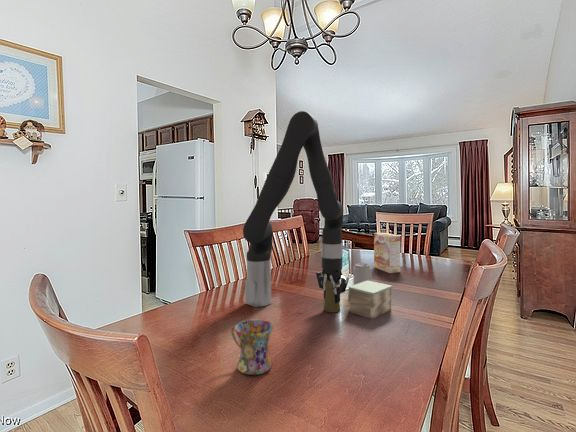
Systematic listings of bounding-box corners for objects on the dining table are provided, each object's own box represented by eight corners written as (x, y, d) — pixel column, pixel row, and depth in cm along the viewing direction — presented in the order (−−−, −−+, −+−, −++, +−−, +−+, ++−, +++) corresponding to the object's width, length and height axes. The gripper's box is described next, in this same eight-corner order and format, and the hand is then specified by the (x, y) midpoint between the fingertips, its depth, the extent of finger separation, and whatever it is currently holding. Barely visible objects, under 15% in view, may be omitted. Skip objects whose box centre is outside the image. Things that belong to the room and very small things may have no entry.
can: (371, 295, 139) (371, 266, 138) (353, 294, 141) (353, 265, 140) (370, 289, 146) (371, 262, 146) (353, 289, 148) (353, 262, 147)
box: (372, 319, 113) (372, 295, 113) (348, 311, 121) (348, 289, 120) (391, 310, 121) (391, 288, 121) (367, 303, 129) (367, 283, 128)
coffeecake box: (373, 267, 189) (373, 232, 188) (384, 266, 191) (384, 232, 190) (389, 273, 175) (389, 236, 173) (400, 272, 177) (401, 235, 175)
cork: (329, 305, 126) (329, 276, 126) (343, 308, 123) (343, 279, 122) (320, 309, 122) (320, 280, 121) (334, 313, 118) (334, 283, 117)
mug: (280, 365, 84) (280, 324, 83) (257, 383, 77) (256, 337, 76) (244, 352, 91) (243, 314, 90) (219, 368, 83) (218, 326, 82)
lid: (373, 295, 113) (373, 293, 113) (348, 288, 120) (348, 286, 120) (392, 287, 121) (392, 285, 121) (367, 282, 128) (367, 280, 128)
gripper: (310, 254, 123) (310, 300, 125) (341, 260, 113) (340, 309, 114) (323, 251, 128) (323, 295, 130) (354, 256, 118) (354, 304, 119)
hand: (331, 301), depth 122 cm, fingers closed on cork, 4 cm apart
